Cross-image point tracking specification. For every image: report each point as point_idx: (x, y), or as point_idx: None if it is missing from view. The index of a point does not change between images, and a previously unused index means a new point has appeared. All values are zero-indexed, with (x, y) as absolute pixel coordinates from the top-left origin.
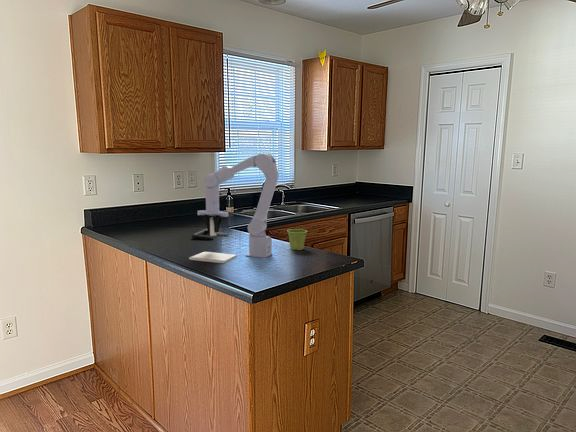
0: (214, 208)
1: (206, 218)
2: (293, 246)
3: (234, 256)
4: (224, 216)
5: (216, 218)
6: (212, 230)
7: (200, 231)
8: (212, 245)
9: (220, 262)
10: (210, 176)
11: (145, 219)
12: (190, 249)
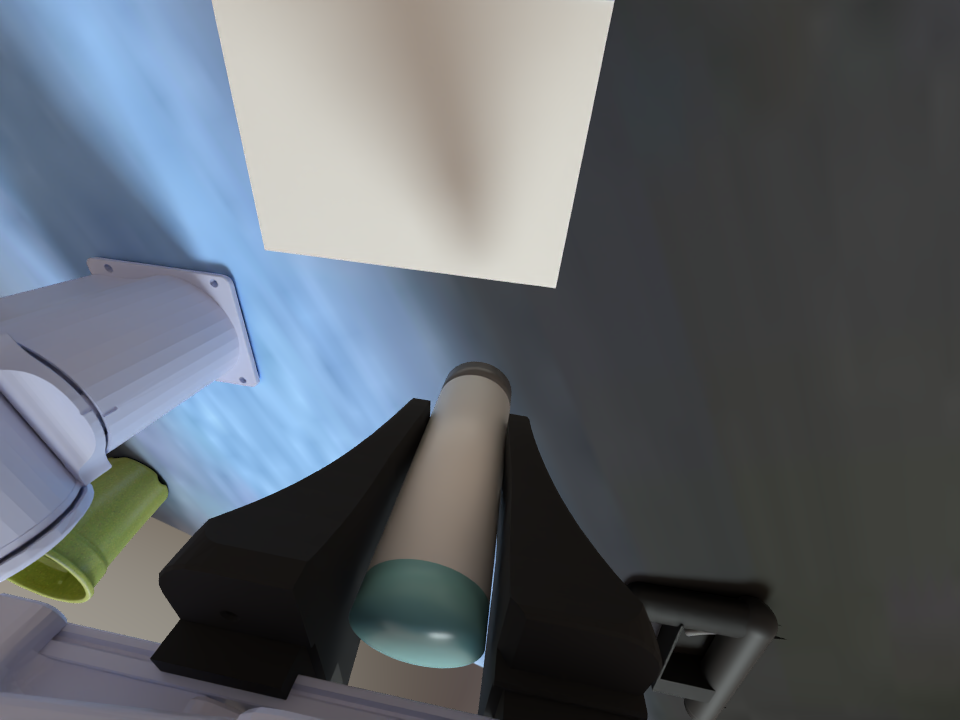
0: None
1: (515, 583)
2: (109, 470)
3: (259, 208)
4: (28, 610)
5: (201, 539)
6: (452, 415)
7: (733, 676)
8: (580, 491)
9: None
10: None
11: None
12: (713, 375)
